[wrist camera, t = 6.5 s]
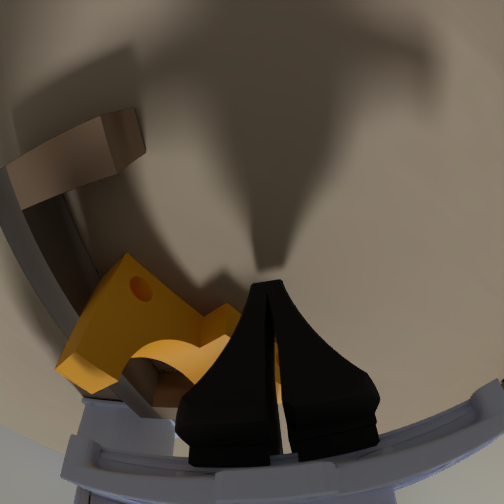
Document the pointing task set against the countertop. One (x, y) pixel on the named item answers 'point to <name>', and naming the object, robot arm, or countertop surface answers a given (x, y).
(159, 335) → the yellow bracket
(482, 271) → the countertop surface
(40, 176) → the dark brown long trough
